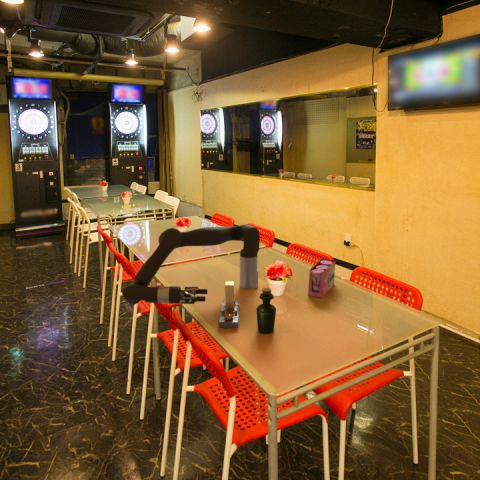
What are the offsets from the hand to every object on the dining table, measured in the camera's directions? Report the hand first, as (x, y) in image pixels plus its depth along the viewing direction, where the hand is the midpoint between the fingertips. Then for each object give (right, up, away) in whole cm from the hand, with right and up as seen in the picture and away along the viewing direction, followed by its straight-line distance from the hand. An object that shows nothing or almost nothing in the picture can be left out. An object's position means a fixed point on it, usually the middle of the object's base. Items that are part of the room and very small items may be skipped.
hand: (206, 295), depth 182 cm
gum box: (+57, -2, +36) cm, 68 cm away
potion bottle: (+25, -13, -10) cm, 30 cm away
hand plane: (+10, -10, +2) cm, 15 cm away
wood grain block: (+10, -7, +2) cm, 13 cm away
